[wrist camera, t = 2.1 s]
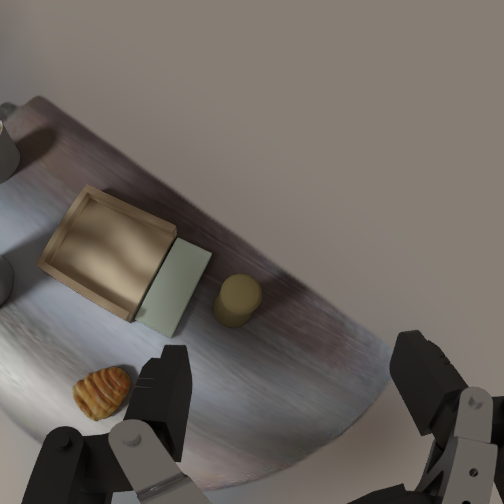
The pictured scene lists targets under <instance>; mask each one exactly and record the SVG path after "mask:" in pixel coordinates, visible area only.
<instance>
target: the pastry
mask: <svg viewBox="0 0 504 504" xmlns="http://www.w3.org/2000/svg"><path fill="white" fill-rule="evenodd" d="M130 385H131V379H130V377H129V376H128V374H127V373H126V372H124V370H122V369H121V368H117V367H114V366H113V367H110V368H107V369H101V370H99V371H97V372H95V373H89V374H88V376H87V377H85V378H84V379H83V380H79V381H78V382H77V384H76V385H75V386H73V389H72V391H73V392H72V393H73V398H74V400H75V402H76V404H77V405H78V407H79V408H80V410H81V411H82V412H84V414H85V415H86V416H87V417H89V418H90V419H92V420H94V421H98V420H101V419H105V418H108V417H109V416H110V415H111V414H112V413H113V412H114V411H115V410H117V409H118V407H119V405H120V404H121V402H122V401H123V399H124V398H125V397H126V395H127V393H128V392H129V389H130Z"/></svg>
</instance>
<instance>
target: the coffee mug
mask: <svg viewBox="0 0 504 504" xmlns="http://www.w3.org/2000/svg"><path fill="white" fill-rule="evenodd" d="M19 162H20V152H19V151H18V149H17V147H16V146H15V144H14V142H13V140H12V139H11V137H10V135H9V134H8V132H7V130H6V128H5V127H4V125H3V123H2V122H1V121H0V184H1V183H3V182H5V181H6V180H7V179H9V178H10V177H11V176H12V174H13V173H14V172H15V170H16V169H17V167H18V165H19Z"/></svg>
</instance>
